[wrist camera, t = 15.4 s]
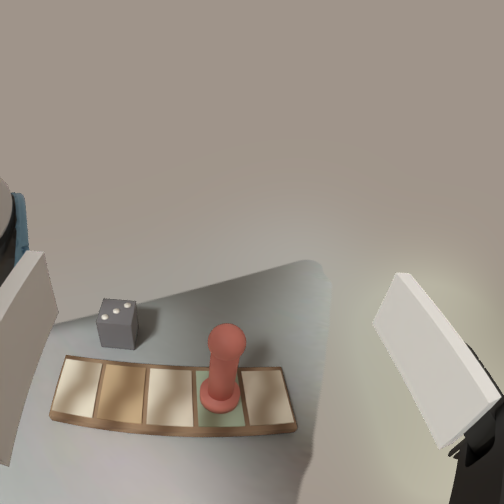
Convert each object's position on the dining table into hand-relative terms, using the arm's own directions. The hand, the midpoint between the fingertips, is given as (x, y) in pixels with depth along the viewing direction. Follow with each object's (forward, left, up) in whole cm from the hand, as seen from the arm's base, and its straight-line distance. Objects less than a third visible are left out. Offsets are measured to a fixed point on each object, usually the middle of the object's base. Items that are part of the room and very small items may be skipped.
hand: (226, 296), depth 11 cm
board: (-3, +13, -28) cm, 31 cm away
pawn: (+3, +13, -27) cm, 30 cm away
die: (-11, +24, -28) cm, 38 cm away
